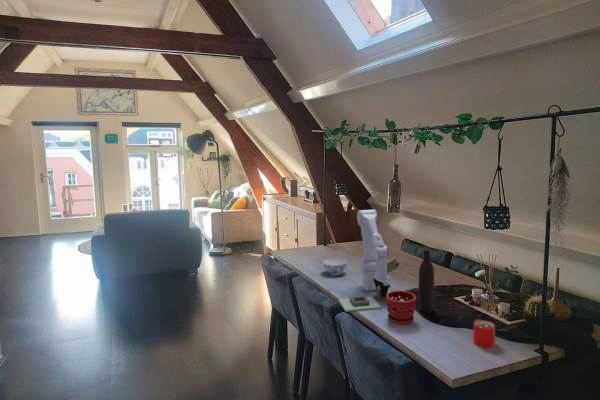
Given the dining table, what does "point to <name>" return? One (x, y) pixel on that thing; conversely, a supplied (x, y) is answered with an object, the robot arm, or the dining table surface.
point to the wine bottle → (426, 284)
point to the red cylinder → (484, 333)
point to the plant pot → (401, 307)
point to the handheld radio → (391, 264)
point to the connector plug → (379, 293)
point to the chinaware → (335, 266)
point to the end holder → (359, 303)
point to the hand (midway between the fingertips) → (381, 294)
